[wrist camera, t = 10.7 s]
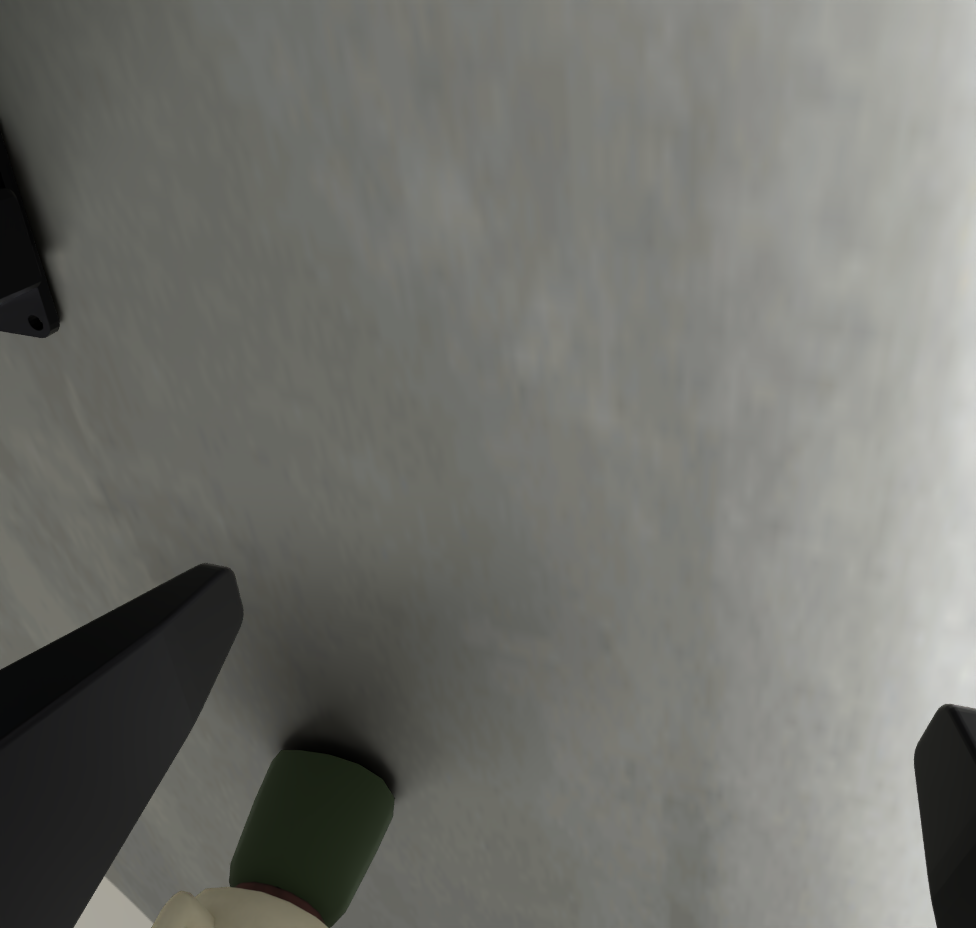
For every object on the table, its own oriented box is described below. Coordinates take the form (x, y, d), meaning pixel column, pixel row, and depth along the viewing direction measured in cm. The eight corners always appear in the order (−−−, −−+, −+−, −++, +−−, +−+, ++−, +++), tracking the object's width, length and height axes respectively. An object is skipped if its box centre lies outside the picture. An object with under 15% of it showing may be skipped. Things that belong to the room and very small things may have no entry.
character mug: (223, 703, 32) (-1, 1044, 22) (353, 697, 30) (170, 1081, 19) (325, 838, 37) (183, 1169, 27) (444, 844, 34) (339, 1213, 24)
